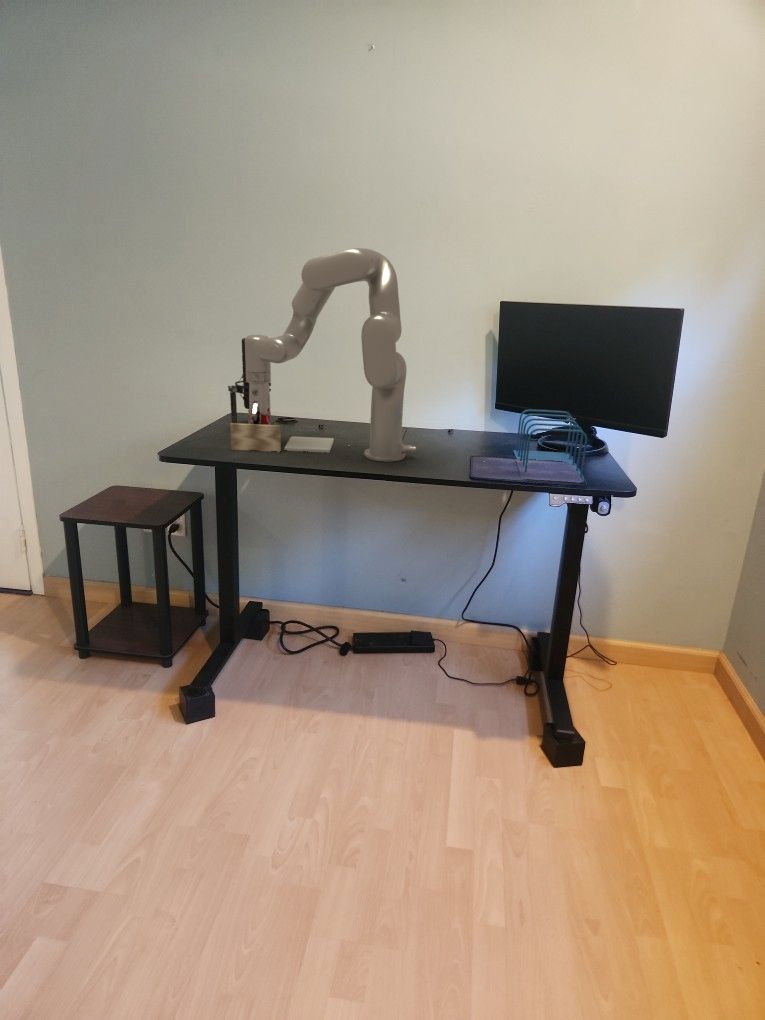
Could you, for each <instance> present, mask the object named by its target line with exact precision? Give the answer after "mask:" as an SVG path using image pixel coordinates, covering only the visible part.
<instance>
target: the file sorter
mask: <svg viewBox="0 0 765 1020" xmlns="http://www.w3.org/2000/svg"><path fill="white" fill-rule="evenodd" d="M528 412H531V413H528ZM532 412H533V413H532ZM536 412H537V413H536ZM526 413H528V414H526ZM545 413H552V414H545ZM553 413H554V414H553ZM525 414H526V415H525ZM561 414H562V415H561ZM564 414H566V415H564ZM523 415H525V416H524V417H523ZM522 417H523V418H522ZM528 417H535V418H530V419H528V420H526V419H527V418H528ZM536 417H538V418H536ZM539 417H552V418H539ZM554 418H555V419H554ZM557 418H567V419H557ZM525 420H526V421H525ZM532 421H538V422H534V423H532V424H530V425H528V423H530V422H532ZM539 421H540V422H539ZM543 422H546V423H543ZM547 422H563V424H562V423H547ZM566 423H569V424H566ZM527 425H528V427H527ZM534 426H544V427H545V426H546V427H547V426H549V427H566V428H569V429H563V428H561V429H560V428H542V427H541V428H539V427H538V428H534V429H533V430H531V431H530V429H531V428H532V427H534ZM526 428H527V429H526ZM572 428H573V429H572ZM539 431H540V432H541V431H544V432H545V431H547V432H565V433H567V432H568V436H567V443H566V449H565V452H561V451H560V452H559V451H558V452H555V451H539V450H530V444H531V437H532V435H533V433H535V432H539ZM529 432H530V433H529ZM571 433H572V437H571ZM575 433H576V437H575ZM579 433H580V441H579ZM516 437H517V438H516V446H515V447H516V448H515V449H513V452H514V454H515V456H516V458H517V459H520V461H522V459H523V464H522V466H524V464H525V459H526V464H525V472H527V463H528V459H536V460H554V461H564V462H567V463H569V464H570V465H572V467H574V469H575V470H576V471H577V472H578V473H579V475H580V477H581V478H583V479H585V477H584V475H583V474H584V473H583V472H584V465H585V459H586V453H587V452H586V451H587V448H588V447H587V446H588V435H587V434H586V432H584V430H583V429H582V427H581V426H579V423H577V422H576V420H575V418H574V417H573V416H572V414H571V413H570V412H569V411H564V410H550V409H549V410H548V409H525V410H524V411H522V412H521V413H520V415H519V420H518V428H517V436H516ZM570 439H571V444H570ZM583 440H584V447H583V452H582V446H583ZM578 441H579V447H578ZM574 442H575V444H574ZM569 446H570V451H569ZM573 448H574V451H573ZM577 448H579V449H578V456H577V461H576V454H577ZM572 453H573V457H572ZM581 453H583V454H581ZM581 455H582V461H581V459H580V458H581ZM580 461H581V467H580V468H579V466H580ZM575 462H576V463H575Z"/></svg>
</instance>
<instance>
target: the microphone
mask: <svg viewBox="0 0 765 1020" xmlns="http://www.w3.org/2000/svg"><path fill="white" fill-rule="evenodd" d="M245 338H246V337H243V338H242V339H241V360H242V367H241V368H242V374H241V377H240V379H239V380H238V381H235V383H234V385H227V388H228V390H227V391H229V398H230V399H229V400H230V416H231V423H240V424H248V419H247V420H241V421H238V414H237V413H238V412H237V411H238V410H237V409H238V408H237V393H238V394H239V396H240V397H241V398H242V400H243V407H244V408H245V409H246V410H249V408H250V407H249V383H248V382H246V362H245ZM241 379H242V380H241ZM239 383H240V384H241V383H242V385H240V384H239ZM270 387H272V382H270V383H269V391H270V392H271V391H272V389H271V388H270ZM242 395H243V396H242ZM271 425H275V424H274V423H272V422H271Z"/></svg>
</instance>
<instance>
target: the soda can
mask: <svg viewBox="0 0 765 1020" xmlns="http://www.w3.org/2000/svg"><path fill="white" fill-rule="evenodd" d="M247 410H248V412H247V417H248V419H247V420H248V424H252V414H250V408H249V409H247ZM252 411H253V410H252ZM252 411H251V412H252ZM257 414H260V412H257ZM257 417H258V418H259V416H257ZM271 423H272V414H271V408H270V409H269V408H268V410H267V414H266V415H263V414H262V421H261V424H262V425H271Z"/></svg>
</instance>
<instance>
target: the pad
mask: <svg viewBox="0 0 765 1020" xmlns="http://www.w3.org/2000/svg"><path fill="white" fill-rule="evenodd" d="M334 441H335V438H334V437H333V438H332V437H315V436H314V437H313V436H312V437H311V436H294V435H293V436H291V437H289V439H288V441H287V443H286V444H285V446H284V450H287V452H303V451H306V452H307V451H308V452H309V453H325V452H326V453H327V454H329V453H331V451H332V448H333V445H334ZM330 450H331V451H330ZM326 453H325V454H326Z"/></svg>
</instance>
